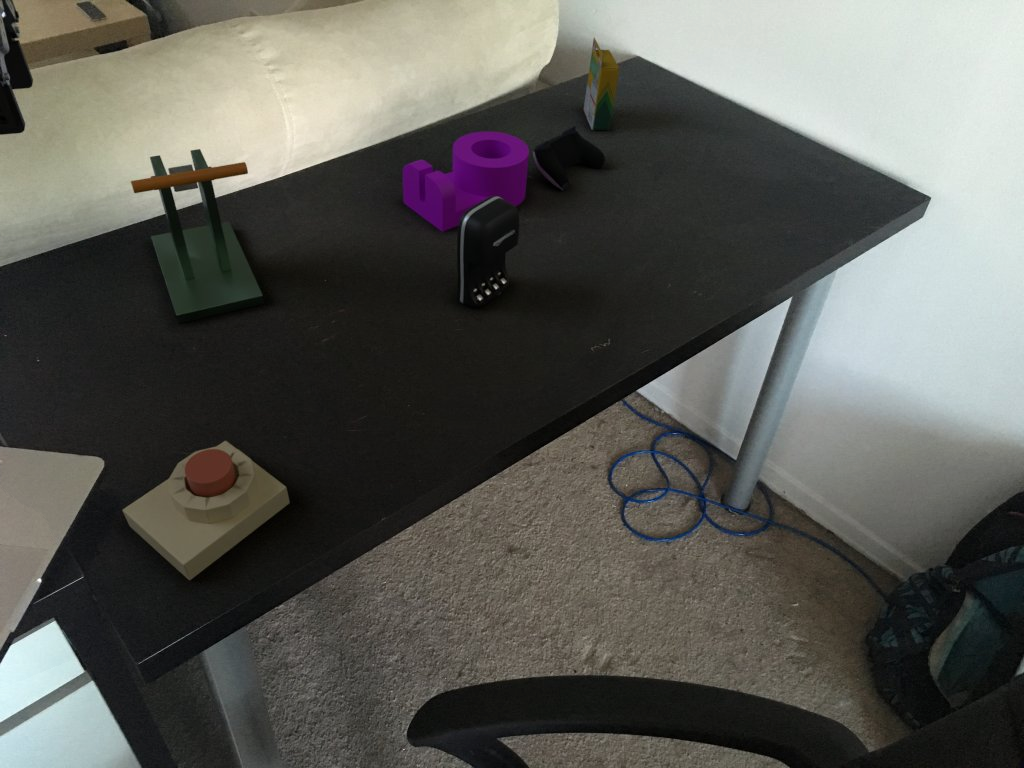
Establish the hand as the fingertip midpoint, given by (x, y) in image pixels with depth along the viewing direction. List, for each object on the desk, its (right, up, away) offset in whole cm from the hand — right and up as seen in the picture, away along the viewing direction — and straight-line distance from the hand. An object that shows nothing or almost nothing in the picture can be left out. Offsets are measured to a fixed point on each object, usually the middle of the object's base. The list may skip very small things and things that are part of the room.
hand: (15, 108), depth 64 cm
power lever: (+9, -3, +14) cm, 16 cm away
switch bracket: (+5, -10, +26) cm, 28 cm away
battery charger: (+37, -12, +26) cm, 47 cm away
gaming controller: (+48, +8, +48) cm, 68 cm away
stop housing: (+15, -33, +2) cm, 37 cm away
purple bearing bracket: (+35, +2, +41) cm, 54 cm away
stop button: (+16, -30, 0) cm, 34 cm away
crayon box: (+54, +19, +61) cm, 83 cm away
